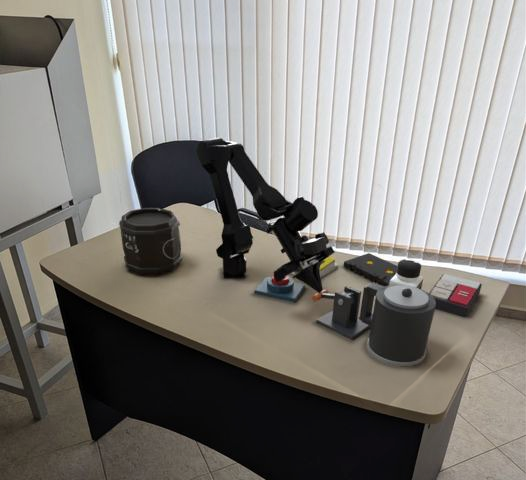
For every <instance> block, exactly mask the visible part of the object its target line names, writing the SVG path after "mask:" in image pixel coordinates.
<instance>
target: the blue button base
mask: <svg viewBox="0 0 526 480" xmlns="http://www.w3.org/2000/svg"><path fill="white" fill-rule="evenodd" d="M293 279H294V278H291V277H289V276H288V284H286V285H275V284H273V282H272V280H273V275H272V276H269V277H268V276H265V278H264V279H262V281H261V282H260V283H259V284H258V285H257V286H256V288H255V289H254V292H253V294H254V295H258V296H263V297H268V298H272V299H276V300H281V301H285V302H286V301H287V302H290V303H296V302H297V300H298V299H299V297H300V296H301V295H302V293H303V292H304V290H305V288H306V284H305V283H298V282H294V280H293Z"/></svg>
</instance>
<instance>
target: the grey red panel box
mask: <svg viewBox="0 0 526 480" xmlns="http://www.w3.org/2000/svg"><path fill="white" fill-rule="evenodd" d="M482 286H483V284H482V283H481V282H478V281H475V280H471V279H466V278H464V277H463V278H462V277H459V276H455V275H452V274H448V273H443V274H442V275H441V276H440V277H439V279H438V280H437V282H436V283H435V284H434V286H433V287H432V289H431V290H430V291H429V292H428V293H429V294H431V295H432V296H433V297H434V299H435V300H436V307H435V309H437V310H439V311H444V312H446V313H450V314H453V315H457V316H461V317H463V318H464V317H465V318H466V317H467V316H468V314H469V312H470V311H471V310H472V307H473V305H474V304H475V302H476V301H477V299H478V298H479V296H480V294H481V291H482V290H481V289H482Z"/></svg>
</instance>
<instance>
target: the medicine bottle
mask: <svg viewBox="0 0 526 480" xmlns="http://www.w3.org/2000/svg"><path fill="white" fill-rule="evenodd" d="M421 271H422V264H421V263H420V262H419V261H417V260H415V259H412V258H411V259H410V258H405V259H401V260H399V261H398V262H397V272H396V274H395V276H394V277H393V278H392V279H391V280H390V284H389V286H390V285H406V286H412V287H416V288H419V289H422V287H423V282H424V277H423V276H421Z"/></svg>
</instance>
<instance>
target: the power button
mask: <svg viewBox="0 0 526 480" xmlns="http://www.w3.org/2000/svg"><path fill="white" fill-rule="evenodd" d="M272 276H273V280H272V282H273V284H275V285H286V284H288V277H289V275H287V276H286V277H285V279H284V280H282V281H280V282H278V283H277V282H276V280H275V278H274V274H273V275H272Z"/></svg>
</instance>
